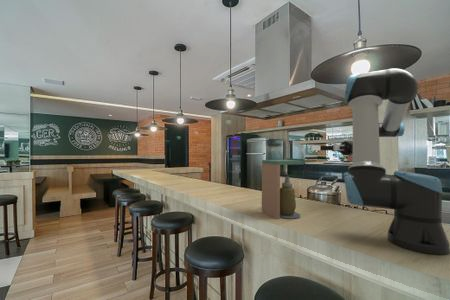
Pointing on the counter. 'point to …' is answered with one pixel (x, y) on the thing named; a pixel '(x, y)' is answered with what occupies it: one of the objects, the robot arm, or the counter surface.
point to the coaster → (290, 216)
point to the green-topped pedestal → (273, 185)
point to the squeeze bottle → (287, 198)
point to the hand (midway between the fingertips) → (321, 147)
